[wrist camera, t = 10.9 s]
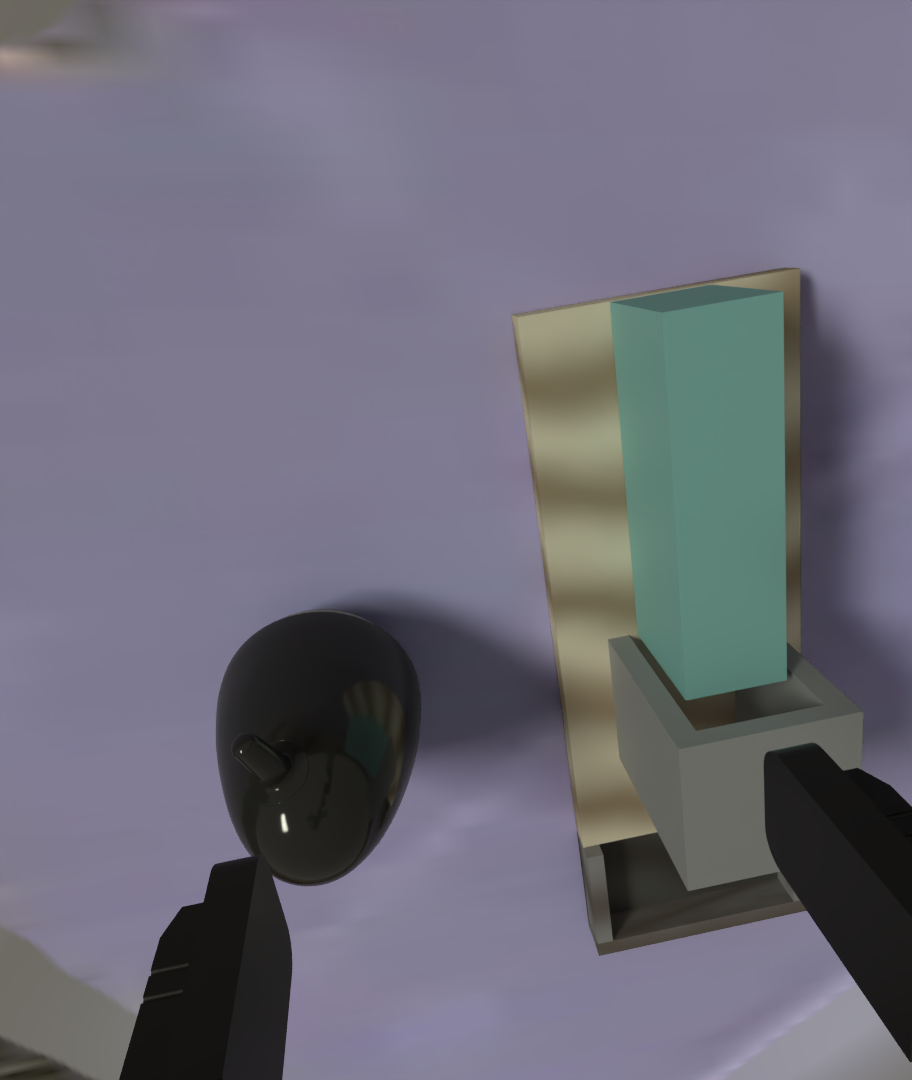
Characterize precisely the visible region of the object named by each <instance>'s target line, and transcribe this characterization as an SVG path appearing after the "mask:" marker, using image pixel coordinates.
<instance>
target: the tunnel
mask: <svg viewBox="0 0 912 1080" xmlns="http://www.w3.org/2000/svg"><path fill="white" fill-rule="evenodd" d="M608 647H609V657H610V667H611V678H612V688H613V698H614V708H615V718H616V728H617V738H618V748H619V758H620V760H621V762H622V764H623V766H624V768H625V770H626V772H627V774H628V776H629V778H630V780H631V782H632V784H633V785H634V787H635V789H636V791H637V793H638V795H639V797H640V799H641V801H642V803H643V805H644V807H645V809H646V811H647V813H648V815H649V817H650V818H651V820H652V822H653V824H654V826H655V828H656V830H657V832H658V834H659V836H660V838H661V840H662V842H663V844H664V846H665V848H666V850H667V851H668V853H669V855H670V857H671V859H672V861H673V863H674V865H675V867H676V869H677V871H678V873H679V875H680V877H681V879H682V881H683V883H684V884H685V886H686V888H687V890H688V891H691V890H696V889H701V888H705V887H710V886H715V885H719V884H724V883H729V882H733V881H738V880H743V879H747V878H752V877H757V876H761V875H766V874H771V873H775V872H780V870H779V868H778V867H777V865H776V863H775V861H774V859H773V856H772V854H771V851H770V848H769V845H768V842H767V837H766V832H765V805H764V757H765V754H766V753H767V752H768V751H773V750H778V749H782V748H787V747H792V746H797V745H802V744H807V743H816V744H818V745H819V746H820V747H821V748H822V749H823V750H824V751H825V752H826V753H827V754H828V755H829V756H830V757H831V758H832V759H833V760H834V761H835V762H836V764H837V765H838V766H839V767H840V768H841V769H842V770H843V771H844V770H849V769H854V768H859V769H861V770H862V744H863V711H862V710H861V709H860V708H859V707H858V706H857V705H856V704H855V703H854V702H852V701H851V700H850V699H849V698H848V697H847V696H846V695H845V694H844V693H843V692H842V691H840V690H839V689H838V688H837V687H836V686H835V685H834V684H833V683H832V682H831V681H829V680H828V679H827V678H826V677H825V676H824V675H823V674H822V673H821V672H820V671H818V670H817V669H816V668H815V667H814V666H813V665H812V664H811V663H810V662H809V661H807V660H806V659H805V658H804V657H803V656H802V655H801V654H800V653H799V652H798V651H797V650H795V649H794V648H793V647H792V646H791V645H790V644H789V643H788V642H787V680H786V681H781V682H776V683H771V684H766V685H761V686H756V687H751V688H746V689H741V690H736V691H735V702H736V723H733V724H728V725H723V726H718V727H714V728H709V729H704V730H699V731H696V730H695V729H694V727H693V726H692V725H691V723H690V722H689V720H688V719H687V717H686V716H685V715H684V713H683V712H682V710H681V709H680V708H679V706H678V705H677V703H676V702H675V700H674V699H673V698H672V696H671V695H670V693H669V692H668V690H667V689H666V688H665V686H664V685H663V683H662V682H661V681H660V679H659V678H658V676H657V675H656V673H655V672H654V671H653V669H652V668H651V666H650V665H649V663H648V662H647V661H646V659H645V658H644V656H643V655H642V654H641V652H640V651H639V649H638V648H637V646H636V645H635V644H634V642H633V641H632V639H631V638H630V636H629V635H627V636H622V637H617V638H612V639H608Z"/></svg>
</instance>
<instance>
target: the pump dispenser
mask: <svg viewBox="0 0 912 1080" xmlns="http://www.w3.org/2000/svg"><path fill="white" fill-rule="evenodd" d="M420 724H421V692H420V686H419V681H418V677H417V673H416V671H415V668H414V666H413V664H412V662H411V660H410V658H409V656H408V655H407V653H406V652H405V650H404V649H403V648H402V647H401V645H400V644H399V643H398V642H397V641H396V640H395V639H394V638H393V637H392V636H390V635H389V634H388V633H387V632H385V631H384V630H382V629H381V628H379V627H378V626H376V625H374V624H373V623H371V622H369V621H368V620H366V619H364V618H362V617H359V616H357V615H354V614H351V613H348V612H343V611H338V610H329V609H319V610H309V611H304V612H299V613H296V614H293V615H290V616H287V617H285V618H283V619H280V620H278V621H275V622H273V623H271V624H269V625H267V626H266V627H264V628H262V629H261V630H259V631H258V632H256V633H255V634H254V635H253V636H251V637H250V638H249V639H248V640H247V641H246V642H245V643H244V644H243V645H242V646H241V647H240V648H239V650H238V651H237V652H236V654H235V655H234V657H233V658H232V660H231V661H230V663H229V665H228V667H227V669H226V672H225V674H224V677H223V680H222V683H221V687H220V691H219V696H218V702H217V713H216V751H217V761H218V768H219V774H220V779H221V784H222V789H223V793H224V798H225V802H226V805H227V809H228V812H229V815H230V818H231V821H232V823H233V826H234V828H235V830H236V833H237V835H238V837H239V839H240V840H241V842H242V844H243V845H244V847H245V849H246V850H247V851H248V853H249V854H250V855H251V857H252V856H256V855H261V854H262V855H264V856H265V857H266V859H267V861H268V864H269V867H270V870H271V874H272V876H273V877H275V878H277V879H279V880H281V881H283V882H286V883H289V884H292V885H297V886H318V885H323V884H327V883H330V882H333V881H336V880H338V879H340V878H342V877H344V876H345V875H347V874H348V873H350V872H351V871H352V870H354V869H355V868H356V867H357V866H358V865H360V864H361V863H362V862H363V861H364V860H365V859H366V858H367V857H368V856H369V855H370V853H371V852H372V851H373V850H374V849H375V847H376V846H377V845H378V843H379V842H380V841H381V839H382V838H383V836H384V835H385V833H386V831H387V830H388V828H389V826H390V824H391V823H392V821H393V819H394V817H395V815H396V813H397V810H398V808H399V806H400V804H401V801H402V799H403V796H404V794H405V791H406V788H407V785H408V782H409V779H410V776H411V773H412V769H413V766H414V762H415V757H416V752H417V747H418V740H419V733H420Z"/></svg>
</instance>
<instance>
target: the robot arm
mask: <svg viewBox="0 0 912 1080" xmlns="http://www.w3.org/2000/svg"><path fill="white" fill-rule="evenodd" d="M764 805H765V832H766V837H767V842H768V845H769V848H770V851H771V854H772V856H773V859H774V861H775V863H776V865H777V867H778V868H779V870H780V872H781V873H782V875H783V876H784V878H785V879H786V880H787V882H788V883H789V885H790V886H791V888H792V889H793V891H794V892H795V894H796V895H797V897H798V898H799V900H800V901H801V903H802V904H803V905H804V907H805V908H806V910H807V911H808V913H809V914H810V916H811V917H812V919H813V920H814V922H815V923H816V925H817V926H818V928H819V929H820V930H821V932H822V933H823V935H824V936H825V938H826V939H827V941H828V942H829V944H830V945H831V947H832V948H833V950H834V951H835V953H836V954H837V955H838V957H839V958H840V960H841V961H842V963H843V964H844V966H845V967H846V969H847V970H848V972H849V973H850V975H851V976H852V978H853V979H854V980H855V982H856V983H857V985H858V986H859V988H860V989H861V991H862V992H863V994H864V995H865V997H866V998H867V999H868V1001H869V1002H870V1004H871V1005H872V1007H873V1008H874V1010H875V1011H876V1013H877V1014H878V1016H879V1017H880V1019H881V1020H882V1022H883V1023H884V1025H885V1026H886V1027H887V1029H888V1030H889V1032H890V1033H891V1035H892V1036H893V1038H894V1039H895V1041H896V1042H897V1044H898V1045H899V1046H900V1048H901V1050H902V1051H903V1052H904V1053H905V1055H906V1057H907V1058H908V1060H909V1061H910V1062H912V807H911V806H910V805H909V804H908V803H907V802H906V801H905V800H904V799H903V798H902V797H901V796H900V795H899V794H898V793H897V792H896V791H895V790H894V789H893V788H892V787H891V786H890V785H888V784H886V783H885V782H883V781H881V780H879V779H877V778H875V777H874V776H872V775H870V774H868V773H866V772H864V771H863V770H861V769H859V768H854V769H849V770H844V771H843V770H842V769H841V768H840V767H839V766H838V765H837V764H836V762H835V761H834V760H833V759H832V758H831V757H830V756H829V755H828V754H827V753H826V752H825V751H824V750H823V749H822V748H821V747H820V746H819V745H818V744H816V743H807V744H802V745H797V746H792V747H787V748H782V749H778V750H773V751H768V752H767V753H766V754H765V757H764ZM291 978H292V950H291V941H290V935H289V930H288V926H287V923H286V920H285V916H284V913H283V910H282V907H281V903H280V900H279V897H278V893H277V890H276V887H275V884H274V880H273V877H272V874H271V870H270V867H269V864H268V861H267V859H266V857H265V856H264V855H262V854H261V855H256V856H252V857H247V858H242V859H237V860H232V861H227V862H222V863H218V864H215V865H214V866H213V868H212V870H211V873H210V877H209V882H208V886H207V890H206V894H205V898H204V903H199V904H194V905H190V906H185V907H182V908H181V909H180V911H179V912H178V913H177V915H176V916H175V918H174V919H173V920H172V922H171V923H170V925H169V926H168V927H167V929H166V930H165V932H164V933H163V934H162V936H161V937H160V940H159V943H158V947H157V950H156V954H155V957H154V961H153V964H152V968H151V976H149V978H148V982H147V985H146V988H145V992H144V995H143V999H144V1002H143V1003H142V1004H141V1006H140V1009H139V1013H138V1016H137V1020H136V1023H135V1027H134V1030H133V1034H132V1037H131V1041H130V1044H129V1047H128V1051H127V1054H126V1058H125V1061H124V1065H123V1068H122V1072H121V1075H120V1079H119V1080H282V1075H283V1065H284V1054H285V1043H286V1032H287V1021H288V1010H289V999H290V988H291Z"/></svg>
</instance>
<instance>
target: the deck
mask: <svg viewBox="0 0 912 1080" xmlns="http://www.w3.org/2000/svg"><path fill="white" fill-rule="evenodd" d="M706 285H720V286H731V287H741V288H752V289H762V290H773V291H783V303H784V414H785V525H786V636H787V642H788V643H789V644H790V645H791V646H792V647H793V648H794V649H795V650H797V651H798V652H799V653H800V654H801V472H800V268H780V269H774V270H768V271H763V272H757V273H751V274H745V275H739V276H734V277H728V278H722V279H716V280H711V281H705V282H699V283H693V284H687V285H682V286H676V287H670V288H664V289H659V290H653V291H647V292H641V293H635V294H630V295H624V296H618V297H612V298H607V299H601V300H595V301H589V302H583V303H578V304H572V305H566V306H560V307H555V308H549V309H543V310H537V311H531V312H526V313H520V314H514V315H512V321H513V329H514V337H515V345H516V353H517V360H518V368H519V376H520V384H521V392H522V400H523V408H524V416H525V424H526V431H527V439H528V447H529V455H530V463H531V471H532V479H533V487H534V495H535V503H536V510H537V518H538V526H539V534H540V542H541V550H542V558H543V566H544V574H545V582H546V589H547V597H548V605H549V613H550V621H551V629H552V637H553V645H554V653H555V661H556V668H557V676H558V684H559V692H560V700H561V708H562V716H563V724H564V732H565V740H566V747H567V755H568V763H569V771H570V779H571V787H572V795H573V803H574V811H575V818H576V826H577V834H578V842H579V850H580V858H581V866H582V874H583V882H584V890H585V897H586V905H587V913H588V921H589V927H590V930H591V933H592V936H593V939H594V942H595V945H596V948H597V951H598V954H599V956H600V955H605V954H610V953H614V952H619V951H623V950H628V949H632V948H637V947H642V946H646V945H651V944H655V943H660V942H665V941H669V940H674V939H678V938H683V937H687V936H692V935H697V934H701V933H706V932H710V931H715V930H719V929H724V928H729V927H733V926H738V925H742V924H747V923H752V922H756V921H761V920H765V919H770V918H774V917H779V916H784V915H788V914H793V913H797V912H802V911H807V910H806V908H805V907H804V905H803V904H802V903H801V901H800V900H799V898H798V897H797V895H796V894H795V892H794V891H793V889H792V888H791V886H790V885H789V883H788V882H787V880H786V879H785V878H784V876H783V875H782V873H781V872H775V873H771V874H766V875H761V876H757V877H752V878H747V879H743V880H738V881H733V882H729V883H724V884H719V885H715V886H710V887H705V888H701V889H696V890H691V891H688V890H687V888H686V886H685V884H684V883H683V881H682V879H681V877H680V875H679V873H678V871H677V869H676V867H675V865H674V863H673V861H672V859H671V857H670V855H669V853H668V851H667V850H666V848H665V846H664V844H663V842H662V840H661V838H660V836H659V834H658V832H657V830H656V828H655V826H654V824H653V822H652V820H651V818H650V817H649V815H648V813H647V811H646V809H645V807H644V805H643V803H642V801H641V799H640V797H639V795H638V793H637V791H636V789H635V787H634V785H633V784H632V782H631V780H630V778H629V776H628V774H627V772H626V770H625V768H624V766H623V764H622V762H621V760H620V758H619V748H618V738H617V728H616V718H615V708H614V698H613V688H612V678H611V667H610V657H609V647H608V639H612V638H617V637H622V636H627V635H629V636H630V638H631V639H632V641H633V642H634V644H635V645H636V646H637V648H638V649H639V651H640V652H641V654H642V655H643V656H644V658H645V659H646V661H647V662H648V663H649V665H650V666H651V668H652V669H653V671H654V672H655V673H656V675H657V676H658V678H659V679H660V681H661V682H662V683H663V685H664V686H665V688H666V689H667V690H668V692H669V693H670V695H671V696H672V698H673V699H674V700H675V702H676V703H677V705H678V706H679V708H680V709H681V710H682V712H683V713H684V715H685V716H686V717H687V719H688V720H689V722H690V723H691V725H692V726H693V727H694V729H695V730H696V731H699V730H704V729H709V728H714V727H718V726H723V725H728V724H733V723H736V702H735V691H731V692H726V693H721V694H716V695H711V696H706V697H701V698H696V699H692V700H687V701H686V700H685V699H684V697H683V696H682V695H681V693H680V692H679V691H678V689H677V688H676V686H675V685H674V684H673V682H672V681H671V680H670V678H669V677H668V675H667V674H666V673H665V671H664V670H663V669H662V667H661V666H660V664H659V663H658V662H657V660H656V659H655V658H654V656H653V655H652V653H651V652H650V651H649V649H648V648H647V647H646V645H645V644H644V642H643V641H642V640H641V638H640V637H639V636H638V632H637V620H636V608H635V596H634V584H633V573H632V561H631V549H630V537H629V525H628V513H627V501H626V489H625V477H624V465H623V453H622V441H621V429H620V417H619V405H618V393H617V381H616V369H615V357H614V346H613V334H612V322H611V310H610V302H614V301H619V300H625V299H631V298H637V297H642V296H648V295H654V294H660V293H665V292H671V291H677V290H683V289H688V288H694V287H700V286H706Z"/></svg>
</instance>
